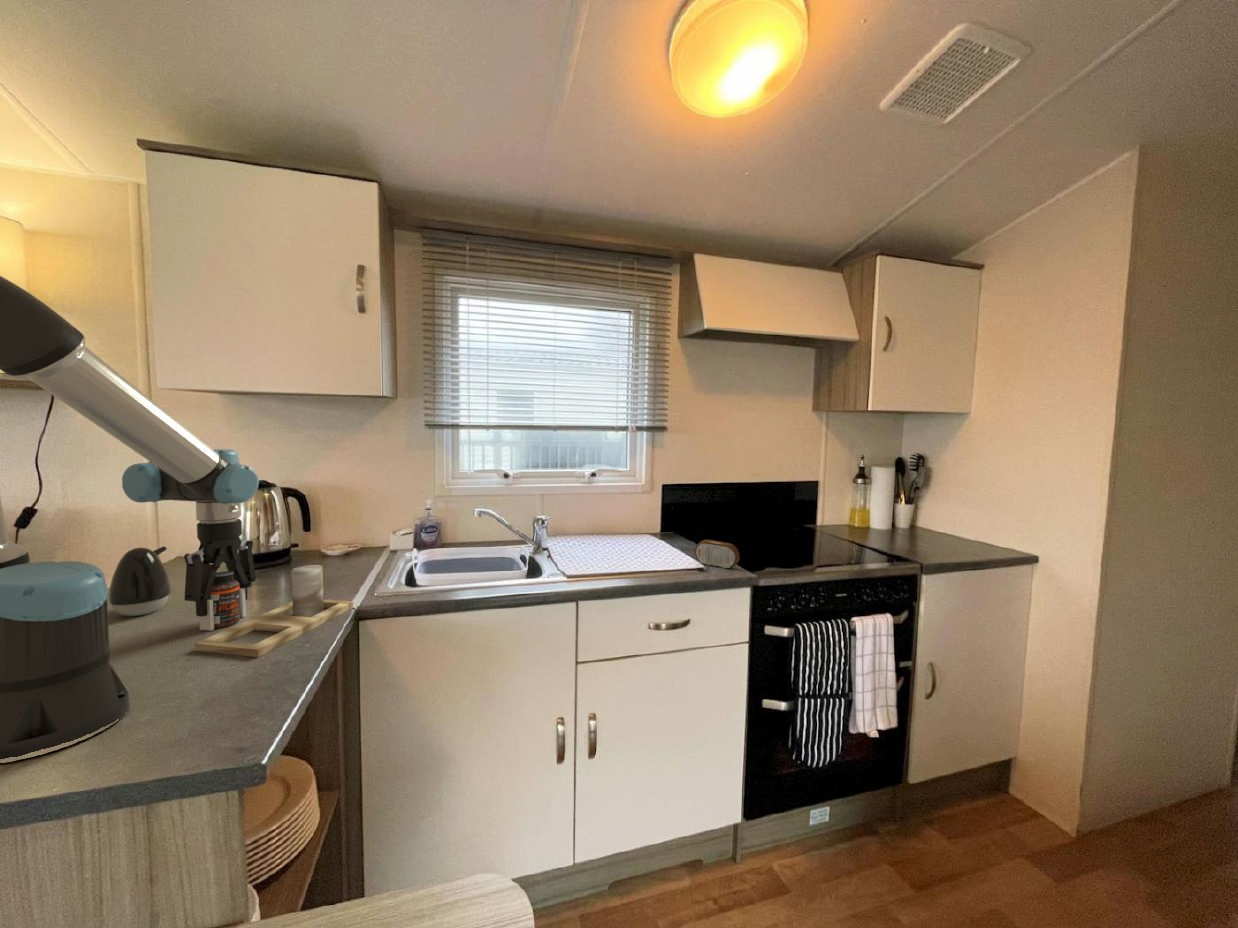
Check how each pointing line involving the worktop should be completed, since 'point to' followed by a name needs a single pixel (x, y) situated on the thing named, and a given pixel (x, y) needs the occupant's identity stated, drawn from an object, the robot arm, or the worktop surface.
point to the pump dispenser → (139, 583)
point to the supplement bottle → (225, 599)
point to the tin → (717, 553)
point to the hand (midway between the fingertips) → (223, 622)
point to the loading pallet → (282, 617)
